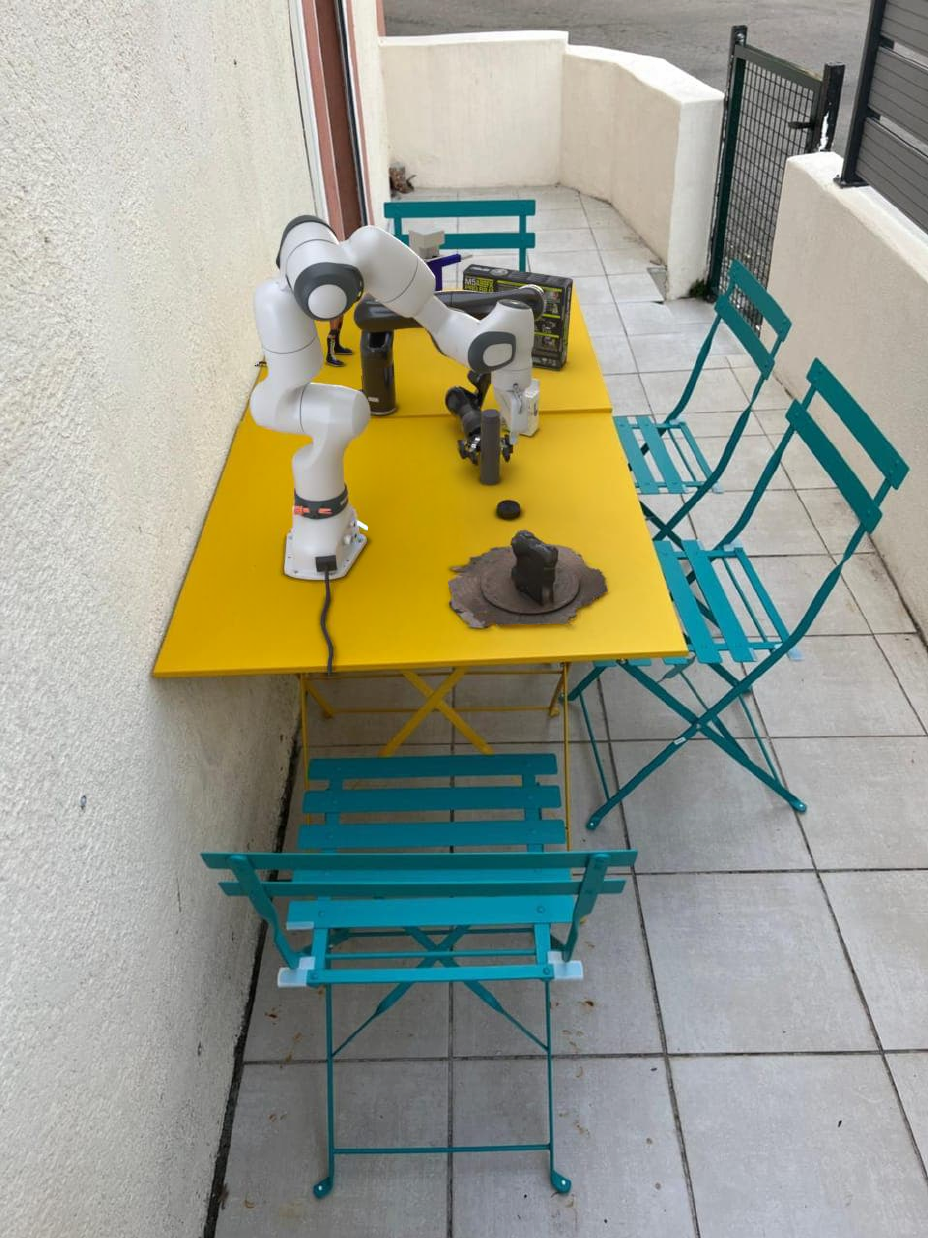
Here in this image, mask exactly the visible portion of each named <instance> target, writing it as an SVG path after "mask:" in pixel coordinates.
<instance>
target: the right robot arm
mask: <svg viewBox="0 0 928 1238" xmlns="http://www.w3.org/2000/svg"><path fill="white" fill-rule="evenodd" d="M434 296H435V297H437V298H438V299H439V300H440V301H441V302H442V303H443V304H444V305H445V306H446V307H449V308H455V309H460V310H462V311H464V312H466V313H467V314H469V315H470V316H472V317H473V318H475V319H477V320H479V321H481V320H482V319H484V318H485V317H487V316H488V315H489V314H490V313H491V312H492V311H493V310H494V308H495V307H496V304H497V302H498V301H500V300H503V299H511V300H516V301H520V302H522V303H525V304H526V305H528V306H529V307H530V308H531V309H532V312H533V317H534V322H536V321H537V320H538V319H540V318H541V316H542V315H543V314H544V312H545V310H546V306H547V299H546V295H545V293H544V291H543V290H542V289H541V288H540V287H538V286H536V285H525V286H522V287H521V288H519V289H515V290H510V291H503V292H496V293H484V292H477V291H468V290H463V289H451V290H450V289H448V290H442V291H437V292H435V293H434ZM352 317H353V322H354V324H355V326H356V327H357V328H358V329H359V330H361V331H360V332H361V333H360V339H359V354H360V355H359V356H360V365H361V376H360V379H361V380H360V381H361V388H360V389H357V390H358V391H361V392H362V393H363V394H364V395H365V397H366V398H367V400H368V402H369V405H370V412H371V415H372V416H386V415H387V416H388V415H391V414H393V413H394V412H396V411H397V408H398V403H397V390H396V389H397V388H396V375H395V374H396V373H395V359H394V340H395V331H399V330H406V329H425V328H424V327H423V326H421V325H420V324H419V323H418V322H417V321H416V320H415V319H413V318H412V317H409V318H406V317H404V316H401V315H399V314H397V313H395V312H394V311H392V310H390V309H389V308H387V307H386V306H384V305H383V304H382V303H380V302H379V301H378V300H377V299H375V298H374V297H373V296H372V295H371V294H369V293H368V292H367V291H366V292H365V293H363V295H362V297H361V299H360V300H359V301H358V302H357V304H356V305H355V307H354V309H353V314H352ZM258 362H259V364H257V366H259V365H267V363H266V360H265V361H263V360H260V361H258ZM466 378H467V380H468V382H469V383H470V384H471V385H472V386H474V387H475V390H474V392H472V391H471V390H469V389H467V388H465V387H463V386H462V385H454V386H451V387H450V388H449V389H448V390H447V391H446V393H445V396H444V405H445V408H446V409H447V411H448V412H449V413H450V414H451V416H452V417H454V418H455V419H456V420H457V421H458V424H459V426H460V429H461V432H462V436H463V437H464V439H465V441H463V440H462V439H457V440H456V449H457V452H458V454H459V456H460V459H462V460H466V459H468V460H470V463H471V464H472V465H474V466H475V467H479V456H478V455H479V453H480V454H481V418H482V412H483V411H484V410H482V409H483V406H484V402H485V400H486V397H487V394H488V392H489V389H490V387H491V385H492V383H491V372H490V373H487V374H479V373H476V372H474V371H472V370H470V369H469V370H468V372H467V374H466ZM509 435H510V434H508V433H505V434H504V435H503V436H502V437H501V436H500V455H501V456H502V458H503V460H504V462H505V463H509V462H510V461H511V454H514V445H511V444H510V442H509ZM466 448H468V450H467V449H466Z"/></svg>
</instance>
